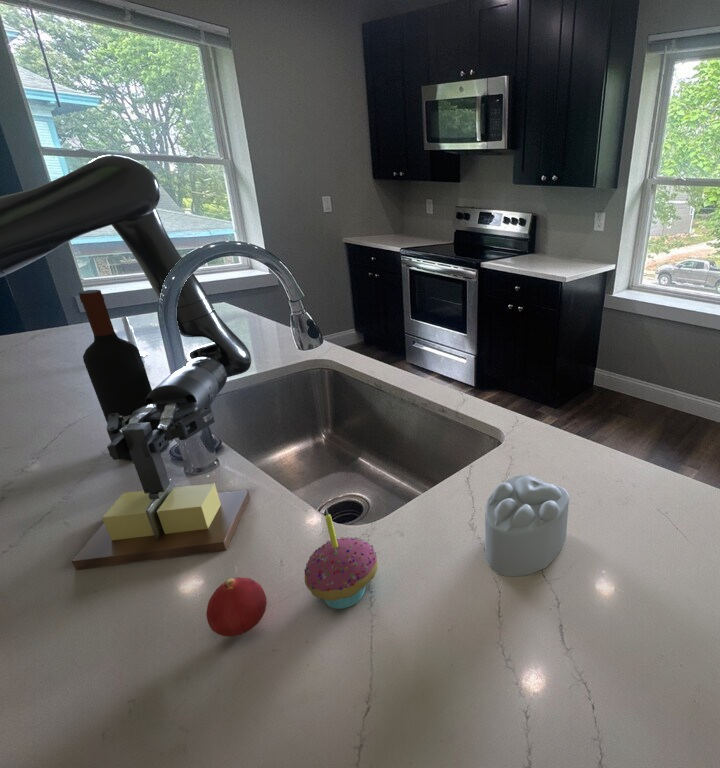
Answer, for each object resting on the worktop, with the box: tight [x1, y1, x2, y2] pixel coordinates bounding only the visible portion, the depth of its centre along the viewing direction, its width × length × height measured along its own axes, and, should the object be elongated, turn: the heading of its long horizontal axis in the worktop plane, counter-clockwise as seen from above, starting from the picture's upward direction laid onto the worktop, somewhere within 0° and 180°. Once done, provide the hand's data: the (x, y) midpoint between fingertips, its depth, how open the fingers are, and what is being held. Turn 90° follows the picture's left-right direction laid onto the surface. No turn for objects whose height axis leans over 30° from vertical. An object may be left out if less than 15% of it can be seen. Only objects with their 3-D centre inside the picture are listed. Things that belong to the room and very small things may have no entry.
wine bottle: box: [78, 289, 170, 462], centre depth 82 cm, size 8×8×30 cm
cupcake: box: [304, 508, 379, 610], centre depth 56 cm, size 9×8×12 cm
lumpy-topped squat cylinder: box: [484, 474, 570, 577], centre depth 66 cm, size 10×13×9 cm
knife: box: [122, 422, 176, 539], centre depth 65 cm, size 2×8×16 cm, turn 13°
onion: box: [205, 576, 268, 638], centre depth 52 cm, size 6×6×8 cm
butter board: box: [71, 489, 251, 571], centre depth 68 cm, size 18×12×2 cm, turn 103°
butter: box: [101, 483, 221, 540], centre depth 67 cm, size 12×6×4 cm, turn 103°
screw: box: [121, 315, 149, 364], centre depth 124 cm, size 13×5×5 cm
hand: (130, 452), depth 60 cm, fingers open, 3 cm apart
